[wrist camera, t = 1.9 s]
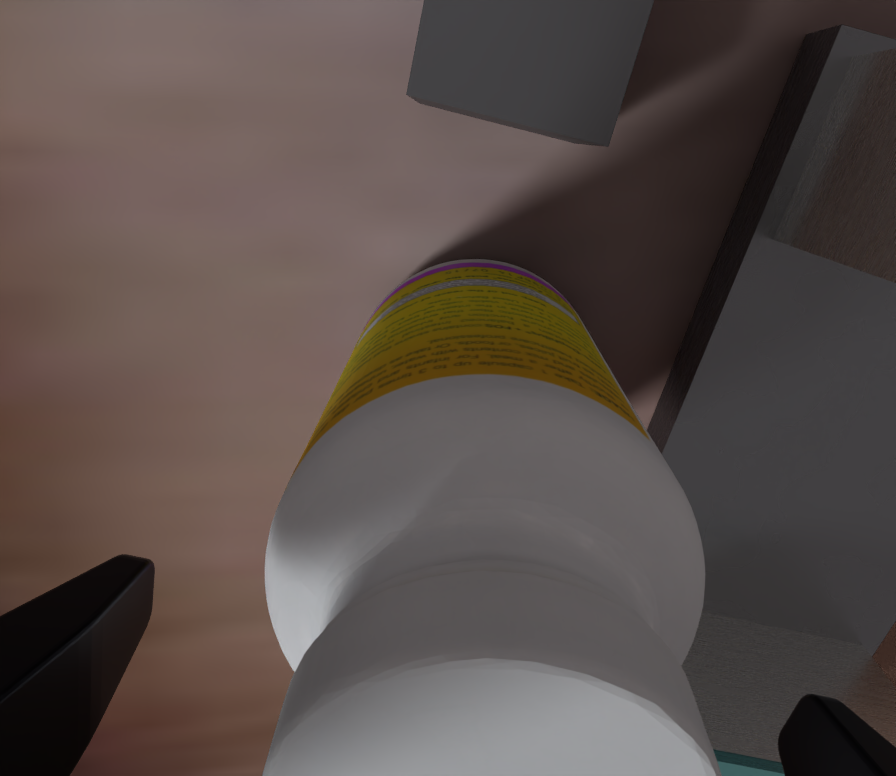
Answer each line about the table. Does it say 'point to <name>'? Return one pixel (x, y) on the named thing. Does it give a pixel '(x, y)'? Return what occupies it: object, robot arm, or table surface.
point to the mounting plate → (797, 414)
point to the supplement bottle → (484, 553)
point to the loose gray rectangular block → (530, 62)
